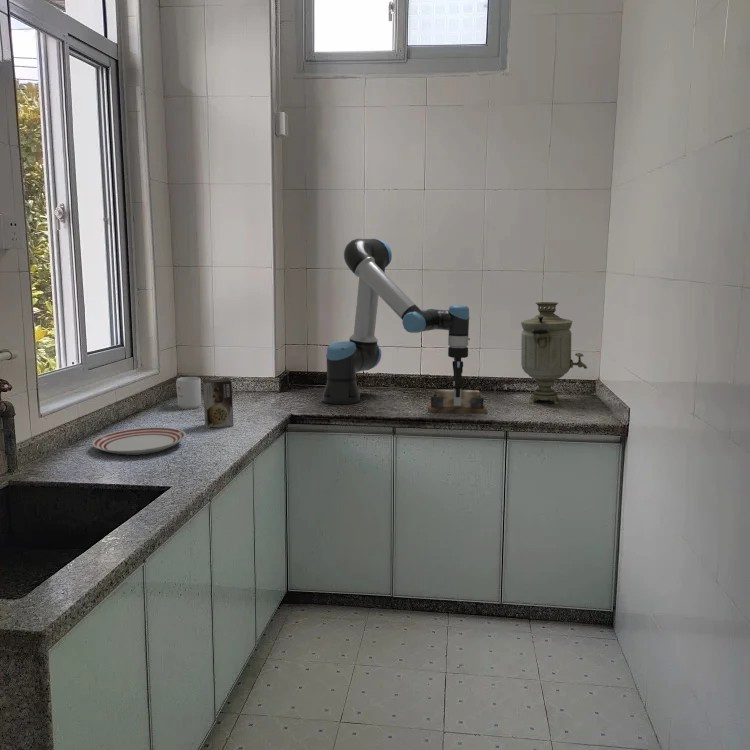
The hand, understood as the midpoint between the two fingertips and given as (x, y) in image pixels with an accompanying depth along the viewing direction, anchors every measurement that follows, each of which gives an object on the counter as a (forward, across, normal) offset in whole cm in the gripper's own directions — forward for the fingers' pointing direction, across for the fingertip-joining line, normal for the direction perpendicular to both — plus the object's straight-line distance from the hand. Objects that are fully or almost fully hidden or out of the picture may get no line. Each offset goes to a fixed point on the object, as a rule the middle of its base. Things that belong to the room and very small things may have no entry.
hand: (456, 401), depth 274 cm
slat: (+2, 0, 0) cm, 2 cm away
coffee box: (+3, -33, +83) cm, 89 cm away
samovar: (+3, +18, -38) cm, 42 cm away
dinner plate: (+4, -62, +99) cm, 117 cm away
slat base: (+3, 0, 0) cm, 3 cm away
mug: (+4, -5, +104) cm, 104 cm away
